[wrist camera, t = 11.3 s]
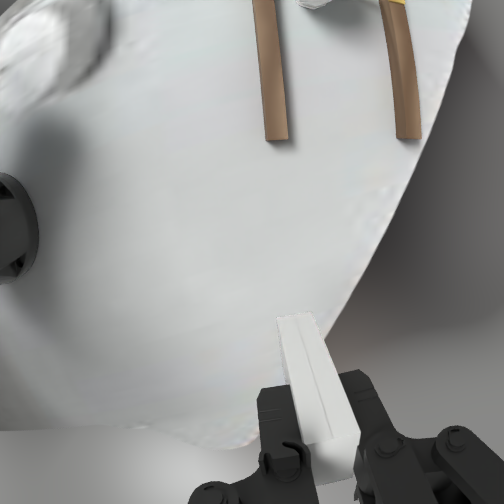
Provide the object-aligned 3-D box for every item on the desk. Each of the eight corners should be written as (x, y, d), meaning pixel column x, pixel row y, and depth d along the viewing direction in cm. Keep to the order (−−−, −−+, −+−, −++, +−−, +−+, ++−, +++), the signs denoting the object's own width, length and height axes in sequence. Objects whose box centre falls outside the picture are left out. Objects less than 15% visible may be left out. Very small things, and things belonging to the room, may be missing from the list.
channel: (265, 140, 32) (267, 140, 29) (242, -77, 22) (242, -88, 19) (411, 138, 32) (423, 139, 29) (374, -66, 22) (381, -75, 20)
